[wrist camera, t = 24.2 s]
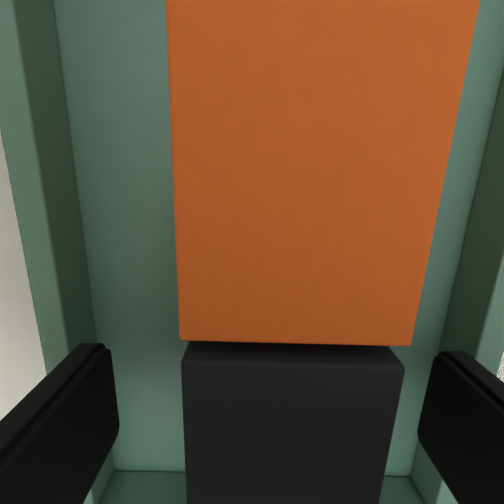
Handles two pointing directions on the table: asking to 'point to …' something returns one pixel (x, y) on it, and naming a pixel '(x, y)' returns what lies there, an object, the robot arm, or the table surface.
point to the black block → (287, 421)
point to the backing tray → (163, 228)
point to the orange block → (310, 162)
